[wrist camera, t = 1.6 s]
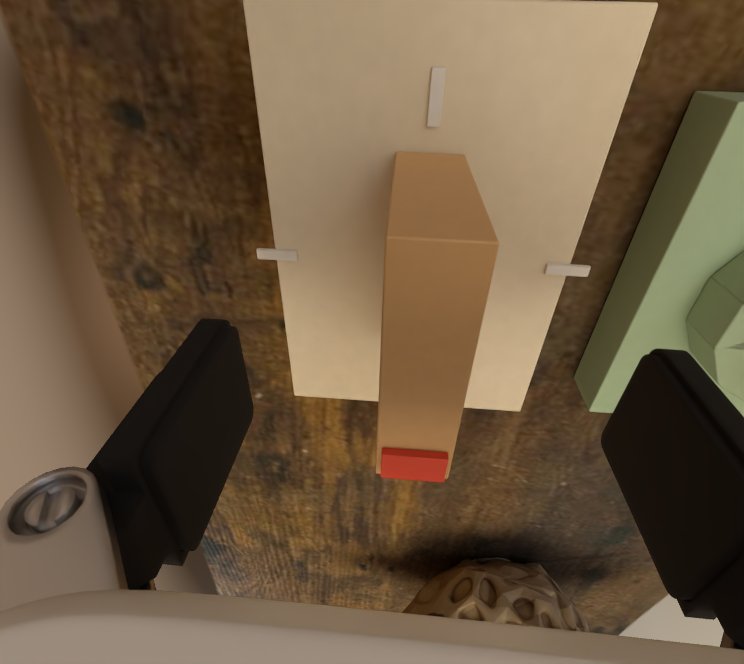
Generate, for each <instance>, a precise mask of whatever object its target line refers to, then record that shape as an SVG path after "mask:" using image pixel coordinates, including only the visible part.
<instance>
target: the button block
mask: <svg viewBox="0 0 744 664" xmlns="http://www.w3.org/2000/svg"><path fill="white" fill-rule="evenodd" d="M654 349H674V350H684V351H687V352H688V353H689V354H690V355H691V356H692V357H693V358H694V359H695V360H696V362H697V363H698V364H699V365H700V366H701V367H702V369H703V370H704V371H705V372H706V373H707V374H708V376H709V377H710V378H711V379H712V380H713V381H714V383H715V384H716V385H717V386H718V387H719V389H720V390H721V391H722V392H723V393H724V394H725V396H726V397H727V398H728V399H729V400H730V401H731V403H732V404H733V405H734V406H735V407H736V408H737V410H738V411H739V412H740V413H741V414H742V415H743V417H744V92H715V91H696V92H694V94H693V97H692V99H691V101H690V104H689V106H688V108H687V111H686V113H685V115H684V118H683V120H682V123H681V125H680V127H679V130H678V132H677V134H676V137H675V139H674V142H673V144H672V146H671V149H670V151H669V153H668V156H667V158H666V160H665V163H664V165H663V168H662V170H661V172H660V175H659V177H658V179H657V182H656V184H655V186H654V189H653V191H652V194H651V196H650V198H649V201H648V203H647V205H646V208H645V210H644V212H643V215H642V217H641V220H640V222H639V224H638V227H637V229H636V231H635V234H634V236H633V238H632V241H631V243H630V246H629V248H628V250H627V253H626V255H625V257H624V260H623V262H622V264H621V267H620V269H619V272H618V274H617V276H616V279H615V281H614V283H613V286H612V288H611V290H610V293H609V295H608V298H607V300H606V302H605V305H604V307H603V309H602V312H601V314H600V316H599V319H598V321H597V324H596V326H595V328H594V331H593V333H592V335H591V338H590V340H589V342H588V345H587V347H586V350H585V352H584V354H583V357H582V359H581V361H580V364H579V366H578V368H577V371H576V373H575V376H574V379H575V382H576V384H577V386H578V388H579V390H580V393H581V395H582V397H583V399H584V401H585V404H586V406H587V408H588V410H589V411H591V412H605V413H613V411H614V410H615V408H616V406H617V404H618V402H619V400H620V398H621V396H622V394H623V392H624V390H625V388H626V386H627V384H628V383H629V381H630V379H631V377H632V375H633V373H634V371H635V369H636V367H637V365H638V363H639V361H640V359H641V358H642V357H643V356H644V355H646V354H649V353H650V352H651V351H652V350H654Z"/></svg>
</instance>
